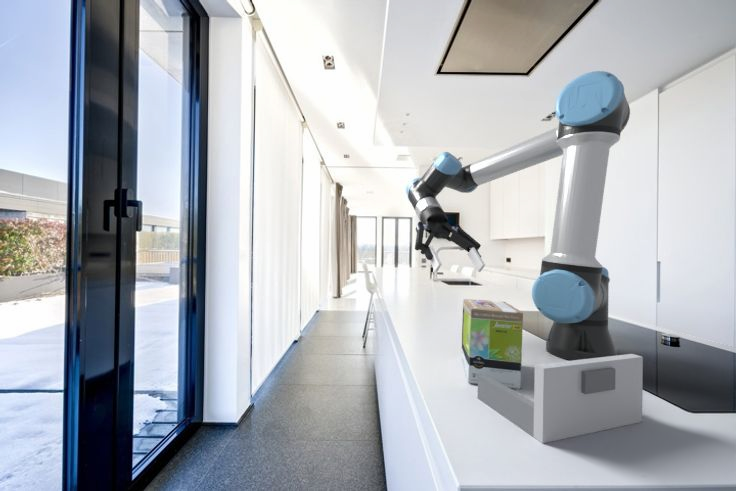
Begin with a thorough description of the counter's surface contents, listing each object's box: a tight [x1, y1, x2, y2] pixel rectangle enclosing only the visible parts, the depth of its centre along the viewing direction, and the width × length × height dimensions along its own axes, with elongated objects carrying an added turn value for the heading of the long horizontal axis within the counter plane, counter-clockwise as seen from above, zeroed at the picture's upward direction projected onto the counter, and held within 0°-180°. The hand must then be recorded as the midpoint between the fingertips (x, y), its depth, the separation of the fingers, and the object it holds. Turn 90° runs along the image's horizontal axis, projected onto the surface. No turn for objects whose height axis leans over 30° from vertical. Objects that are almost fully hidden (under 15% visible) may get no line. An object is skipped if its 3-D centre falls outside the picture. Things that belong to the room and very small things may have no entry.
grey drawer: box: [477, 353, 644, 444], centre depth 52 cm, size 20×14×10 cm
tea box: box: [460, 298, 524, 390], centre depth 67 cm, size 15×10×15 cm, turn 168°
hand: (460, 268), depth 81 cm, fingers open, 12 cm apart
